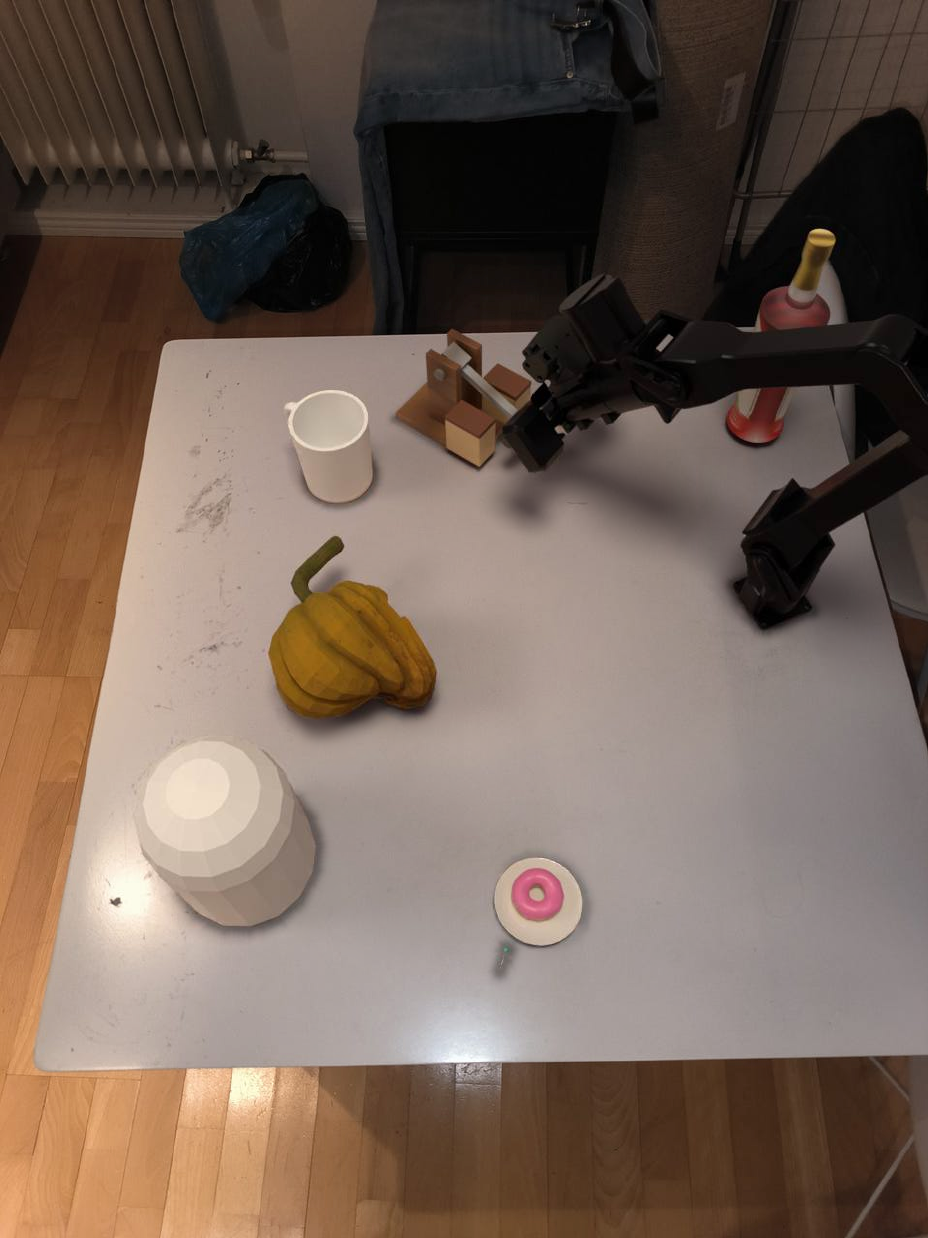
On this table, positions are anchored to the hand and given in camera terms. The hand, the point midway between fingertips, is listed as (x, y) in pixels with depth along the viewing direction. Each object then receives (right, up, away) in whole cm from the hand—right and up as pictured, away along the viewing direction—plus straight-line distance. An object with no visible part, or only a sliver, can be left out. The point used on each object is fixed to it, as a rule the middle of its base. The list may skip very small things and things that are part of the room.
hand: (524, 410), depth 111 cm
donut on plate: (0, -52, -20) cm, 56 cm away
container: (-28, -47, -17) cm, 57 cm away
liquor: (+29, 0, +9) cm, 30 cm away
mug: (-23, -7, +6) cm, 24 cm away
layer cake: (-4, -1, +8) cm, 9 cm away
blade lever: (-5, +2, +3) cm, 6 cm away
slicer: (-8, +1, +10) cm, 13 cm away
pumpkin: (-19, -30, -7) cm, 36 cm away
